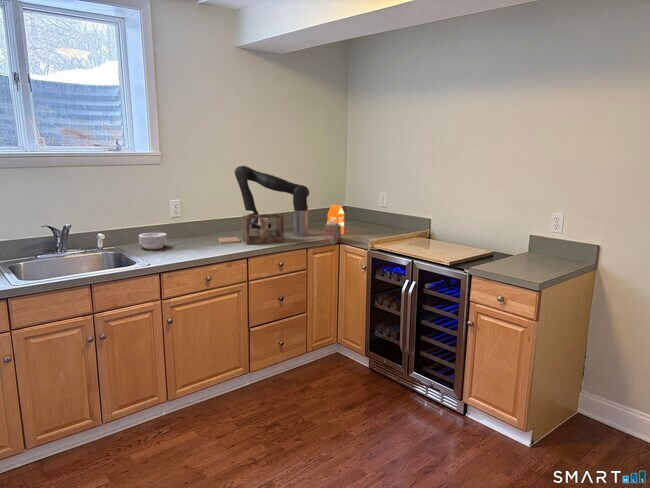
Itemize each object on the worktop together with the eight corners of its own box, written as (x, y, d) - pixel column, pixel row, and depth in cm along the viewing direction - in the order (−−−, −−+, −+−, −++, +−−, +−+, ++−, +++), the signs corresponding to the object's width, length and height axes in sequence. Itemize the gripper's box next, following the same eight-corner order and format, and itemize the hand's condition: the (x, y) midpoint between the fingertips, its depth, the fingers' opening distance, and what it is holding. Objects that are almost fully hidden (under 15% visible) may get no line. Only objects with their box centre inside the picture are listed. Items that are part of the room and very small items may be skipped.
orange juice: (337, 235, 329) (338, 206, 325) (326, 233, 334) (327, 205, 330) (343, 234, 335) (344, 205, 331) (333, 232, 340) (334, 204, 336)
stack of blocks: (331, 237, 324) (332, 219, 321) (340, 237, 323) (341, 219, 320) (324, 243, 303) (325, 224, 301) (334, 244, 302) (335, 225, 300)
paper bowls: (157, 243, 291) (157, 230, 289) (172, 247, 282) (172, 234, 280) (134, 247, 279) (133, 234, 278) (148, 252, 270) (148, 238, 268)
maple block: (266, 236, 307) (266, 217, 304) (268, 237, 302) (268, 218, 299) (258, 236, 305) (258, 217, 302) (260, 238, 300) (260, 218, 298)
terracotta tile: (236, 238, 312) (236, 237, 312) (240, 242, 301) (240, 240, 301) (217, 239, 308) (217, 237, 308) (220, 243, 297) (220, 241, 297)
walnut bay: (278, 238, 314) (278, 211, 310) (283, 242, 303) (283, 214, 299) (243, 240, 305) (242, 212, 302) (247, 244, 295) (246, 215, 291)
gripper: (247, 217, 312) (252, 222, 296) (268, 216, 317) (275, 221, 301) (247, 229, 313) (252, 234, 298) (268, 228, 318) (275, 233, 303)
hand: (264, 227), depth 300 cm, fingers closed on maple block, 5 cm apart
